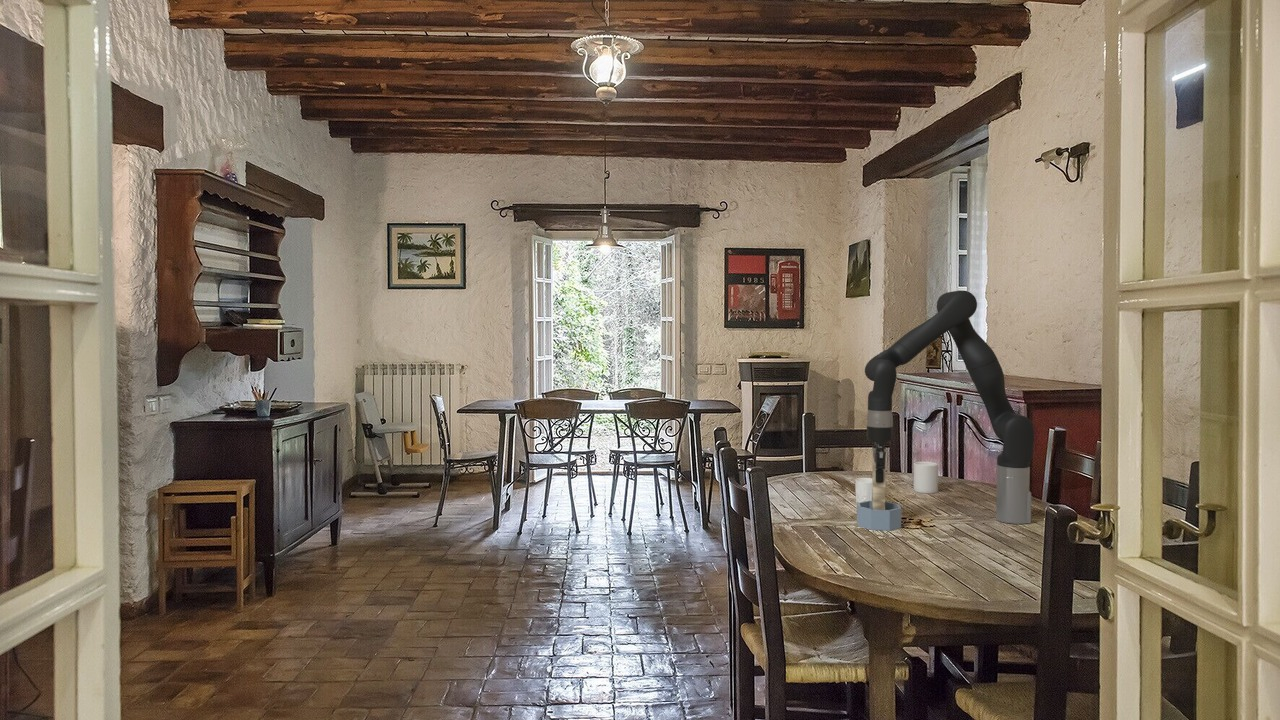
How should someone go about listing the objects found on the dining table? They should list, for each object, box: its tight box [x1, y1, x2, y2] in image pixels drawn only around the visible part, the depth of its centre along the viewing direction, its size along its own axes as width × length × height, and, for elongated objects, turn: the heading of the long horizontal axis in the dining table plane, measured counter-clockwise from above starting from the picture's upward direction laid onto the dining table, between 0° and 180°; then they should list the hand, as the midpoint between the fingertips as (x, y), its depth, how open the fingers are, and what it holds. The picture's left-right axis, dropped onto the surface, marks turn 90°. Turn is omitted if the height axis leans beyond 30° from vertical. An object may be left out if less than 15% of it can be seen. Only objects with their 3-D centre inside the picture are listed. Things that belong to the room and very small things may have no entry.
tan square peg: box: [871, 458, 887, 510], centre depth 242 cm, size 4×4×15 cm
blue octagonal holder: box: [856, 500, 902, 532], centre depth 243 cm, size 13×13×6 cm
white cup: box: [854, 477, 872, 505], centre depth 262 cm, size 8×8×10 cm
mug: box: [913, 461, 939, 495], centre depth 291 cm, size 12×8×10 cm
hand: (878, 480), depth 242 cm, fingers closed on tan square peg, 3 cm apart
